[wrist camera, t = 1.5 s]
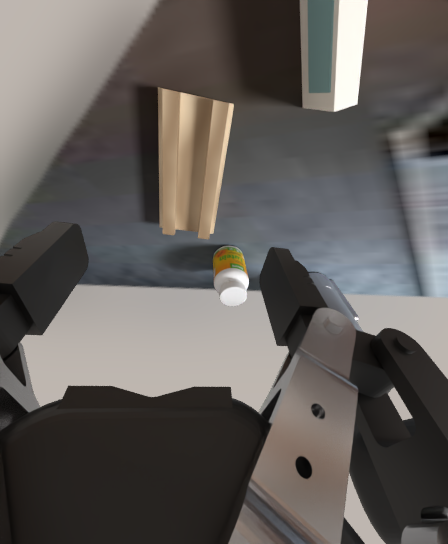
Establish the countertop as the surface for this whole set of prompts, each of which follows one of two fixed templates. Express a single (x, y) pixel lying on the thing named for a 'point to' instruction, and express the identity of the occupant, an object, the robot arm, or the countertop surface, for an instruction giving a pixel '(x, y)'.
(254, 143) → the countertop surface
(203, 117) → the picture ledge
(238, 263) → the supplement bottle
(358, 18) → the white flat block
